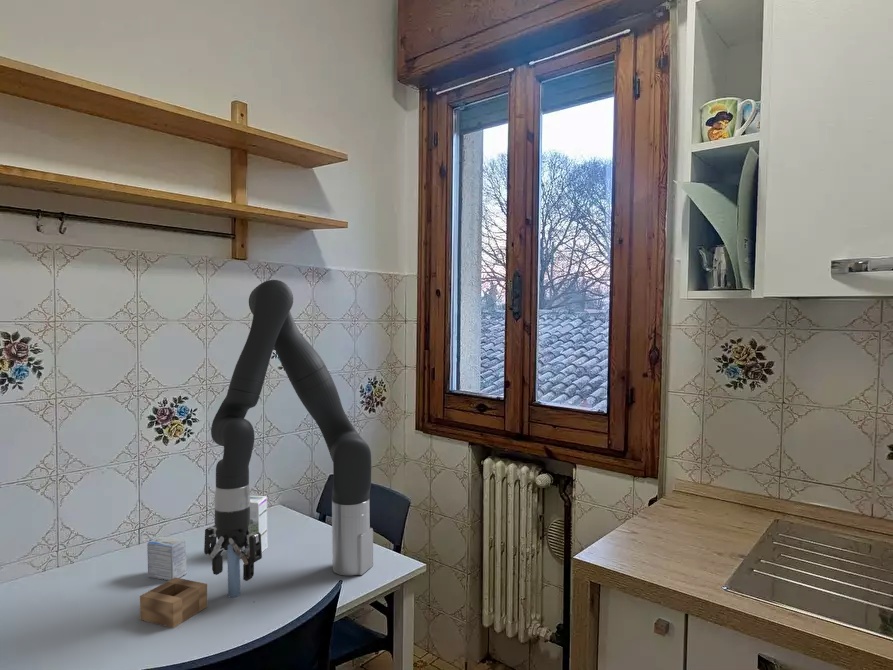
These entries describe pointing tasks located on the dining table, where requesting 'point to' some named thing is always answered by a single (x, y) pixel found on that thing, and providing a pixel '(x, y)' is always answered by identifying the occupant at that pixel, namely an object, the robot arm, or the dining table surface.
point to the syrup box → (258, 519)
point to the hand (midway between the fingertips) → (232, 576)
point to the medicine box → (166, 558)
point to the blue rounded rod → (233, 572)
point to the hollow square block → (173, 602)
